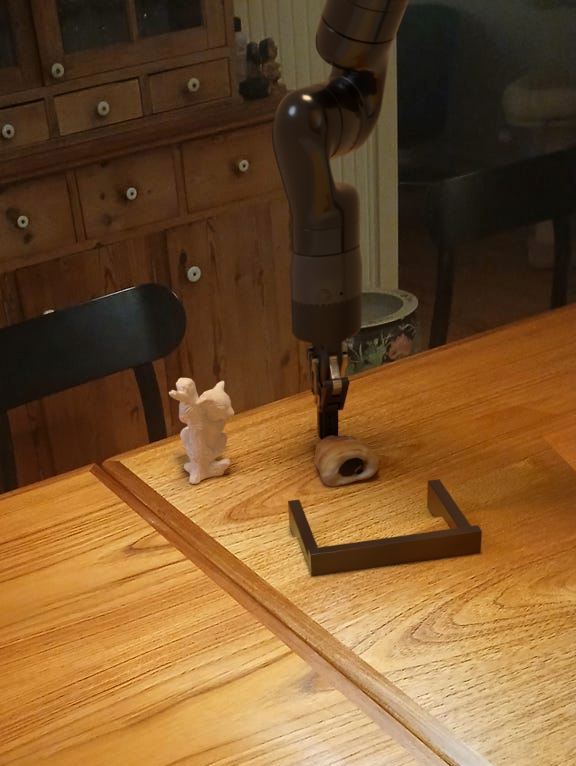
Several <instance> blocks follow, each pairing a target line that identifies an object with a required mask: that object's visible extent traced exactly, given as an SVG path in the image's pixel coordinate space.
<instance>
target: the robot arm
mask: <svg viewBox="0 0 576 766" xmlns="http://www.w3.org/2000/svg"><path fill="white" fill-rule="evenodd" d="M409 1H410V0H325V1H324V5H323V8H322V11H321V15H320V18H319V21H318V24H317V28H316V32H315V40H314V41H315V48H316V52H317V53H318V55H319V57H320V58H321V59H322V60H323V61H324V62H325V63H326V64H328V65H329V66H331V71H330V73H329V75H328V77H327V79H325V80H323V81H319V82H316V83H313V84H309V85H306V86H301V87H298V88H296V89H294V90H292V91H290V92H288V93H287V94H286V95H285V96H284V97H283V98H282V99H281V100H280V102H279V104H278V106H277V108H276V110H275V113H274V115H273V116H274V117H273V120H272V126H271V127H272V128H271V143H272V149H273V154H274V158H275V162H276V165H277V169H278V172H279V175H280V179H281V182H282V186H283V189H284V193H285V196H286V199H287V203H288V205H289V209H290V224H291V225H290V226H291V227H290V228H291V261H290V271H289V273H290V276H289V279H290V304H291V305H290V308H291V309H290V310H291V332H292V335H293V336H294V337H295V338H296V339H297V340H299V341H301V342H303V343H309V344H308V345H307V346H306V360H307V362H308V368H309V384H310V385H311V391H310V392H311V393H312V396H314V399H313V403H314V404H315V407H316V430H317V431H316V433H317V435H318V437H319V440H320V441H321V440H322V439H324V438H326V437H328V436H331V435H333V436H339V411H343V410H344V408H345V404H346V400H347V396H348V391H349V387H350V379H349V377H348V376H346V370H347V368H348V365H349V356H348V355H349V354H348V350H344V344H343V342H345V341H346V340H347V339H349V338H353V337H355V336H356V335H357V334H359V333H360V331H361V329H362V326H363V323H362V321H363V320H362V319H363V262H362V253H361V201H360V194H359V191H358V189H357V188H356V187H355V186H354V185H352V184H350V183H347V182H341V181H335V179H334V175H333V171H332V168H331V167H332V166H331V160H334V159H337V158H339V157H343V156H347V155H348V154H351V153H354V152H356V151H357V150H359V149H360V148H361V147H362V146H364V144H365V143H366V142H367V141H368V139H369V138H370V136H371V135H372V133H373V131H374V130H375V128H376V126H377V125H378V122H379V119H380V116H381V113H382V108H383V102H384V95H385V89H386V83H387V82H386V81H387V77H388V76H387V75H388V69H389V57H390V50H391V47H392V45H393V43H394V40H395V37H396V35H397V33H398V31H399V27H400V25H401V22H402V20H403V17H404V16H405V15H404V14H405V11H406V10H407V7H408V4H409Z"/></svg>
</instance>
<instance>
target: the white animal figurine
mask: <svg viewBox="0 0 576 766" xmlns="http://www.w3.org/2000/svg"><path fill="white" fill-rule="evenodd" d="M175 387H176V390H174V389H171V390H170V391H169V392H168V395H169V396H170V398H173V399H174V400H176V401H179V405H178V408H179V409H178V419H179V420H180V422H181V423H183V424H186V425H187V426H185V427H184V428H182V429H181V431H180V434H179V437H180V440H181V443H182V446H183V449H184V451H185V453H186V455H187V457H188V458H189V461H187V462H185V463H184V465H183V469H184V471H186V472H187V473H188V474H189V479H188V482H189V484H191V485H197V484H200V482H201V481H202V480H205V479H209V478H214V477H221V476H223V475H224V473H225V471H226V470H227V469H228V468H229V467H230V466H231V463H232V462H231V460H230V458H229V457H227V458H223V459H221V460H217V458H218V456H220V455H221V453H222V452H223V451H224V450H225V449H226V446H227V443H228V435H227V434H226V433H225V432H223V431H224V430H225V427H226V420H230V419H232V418H233V417H234V415H235V411H234V409H233V407H232V400H231V398H230V396H229V394H228V393H226V392H225V381H224V380H221V381H219V382H217V383H216V385H215V386H214V387H213V388H212V389H209V390H208V389H207V390H206V391H204V392H202V394H201V395H199V393H198V391H197V387H196V382H195V381H193V379H192V378H190V377H189V378H188V377H180V378H178V380H177V381H176V382H175Z"/></svg>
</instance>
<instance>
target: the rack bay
mask: <svg viewBox="0 0 576 766" xmlns="http://www.w3.org/2000/svg"><path fill="white" fill-rule="evenodd" d="M426 507H427V509H428V511H429V512H430V513H431V515H432V517H433V518H434V519H436V518H441V517H442V518H443V519H444V521H445V523H446V524H447V526H448V527H449V528H447V529H440V530H433V531H425V532H418V533H412V534H405V535H397V536H391V537H390V536H389V537H382V538H376V539H367V540H361V541H355V542H348V543H339V544H334V545H333V544H332V545H326V546H318V544H317V541H316V539H315V536H314V534H313V531H312V529H311V526H310V523H309V520H308V519H307V518H308V517H307V516H306V513H305V511H304V507H303V506H302V503H301V500H300V499H292V500H288V501H287V510H288V527H289V529H290V532H291V534H292V537H293V538H297V540H298V544H299V546H300V548H301V549H300V550H301V551H302V555H303V557H304V560H305V562H306V566H307V568H308V571H309V574H310V577H319V576H327V575H333V574H334V575H335V574H341V573H347V572H348V573H349V572H355V571H356V572H357V571H363V570H368V569H377V568H384V567H391V566H398V565H407V564H414V563H420V562H421V563H422V562H428V561H435V560H443V559H448V558H450V559H451V558H456V557H463V556H464V557H465V556H471V555H478V554H481V552H482V551H481V549H482V538H483V537H482V536H483V530H482V529H481V528H480V526H479V525H478V524H475V525H472V524H471V523H470V522H469V521H468V519H467V517H466V516H465V514H464V513H463V512H462V510H461V508H460V507H459V506H458V504H457V502H456V501H455V500H454V499H453V497H452V496H451V494H450V492H449V491H448V490H447V488H446V487H445V485H444V483H443V482H442V481H441V479H440V478H435V479H429V480H427V495H426Z"/></svg>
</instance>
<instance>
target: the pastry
mask: <svg viewBox="0 0 576 766" xmlns="http://www.w3.org/2000/svg"><path fill="white" fill-rule="evenodd" d="M313 463H314V466H315V467H316V468H317V470H318V471H319V476H320V477H321V480H322V482H323V484H325V485H327V486H330V487H338V486H345V485H348V484H352V483H354V482H356V481H363V480H367V479H369V478H371V477H372V476H375V474H376V473H377V472H378V470H379V467H380V460H379V458H378V455H377V452H375V451H374V450H373V449H372V448H371V446H370V445H369V444H368V443H367V441H365V440H361V439H358V438H356V437H355V436H352V435H338V436H333V435H331V436H328V437H326V438H324V439H322V440H321V439H320V442H318V443H317V444H316V446H315V451H314V459H313Z"/></svg>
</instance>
